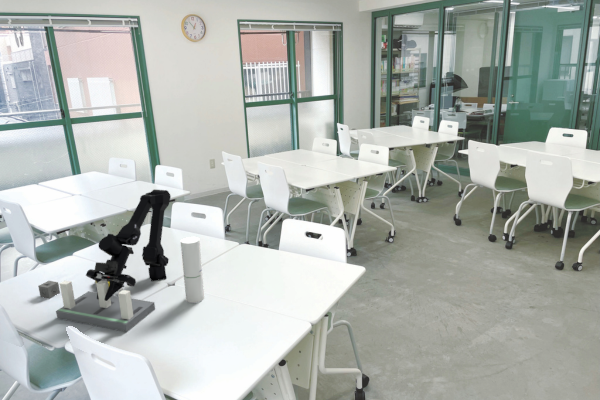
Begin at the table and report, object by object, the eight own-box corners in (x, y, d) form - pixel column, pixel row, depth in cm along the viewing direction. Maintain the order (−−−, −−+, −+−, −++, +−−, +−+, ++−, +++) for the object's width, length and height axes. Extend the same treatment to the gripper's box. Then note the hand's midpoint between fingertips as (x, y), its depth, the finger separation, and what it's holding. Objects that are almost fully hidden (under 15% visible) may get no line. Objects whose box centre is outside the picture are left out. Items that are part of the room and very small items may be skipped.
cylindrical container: (207, 295, 176) (203, 237, 169) (198, 304, 169) (193, 244, 163) (192, 293, 178) (187, 235, 171) (182, 301, 172) (176, 242, 165)
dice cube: (40, 297, 177) (38, 285, 175) (50, 291, 181) (48, 280, 180) (49, 298, 175) (47, 287, 174) (60, 293, 180) (58, 282, 178)
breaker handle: (104, 303, 164) (101, 280, 161) (111, 304, 163) (107, 281, 161) (99, 307, 162) (96, 283, 159) (106, 308, 161) (102, 284, 158)
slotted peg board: (89, 297, 175) (84, 268, 172) (155, 309, 166) (151, 278, 163) (57, 318, 161) (51, 286, 157) (127, 332, 152) (122, 298, 148)
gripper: (85, 249, 163) (66, 289, 156) (126, 255, 158) (109, 296, 151) (103, 260, 173) (86, 298, 166) (143, 266, 167) (127, 306, 160)
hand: (101, 299), depth 160 cm, fingers closed on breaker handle, 3 cm apart
